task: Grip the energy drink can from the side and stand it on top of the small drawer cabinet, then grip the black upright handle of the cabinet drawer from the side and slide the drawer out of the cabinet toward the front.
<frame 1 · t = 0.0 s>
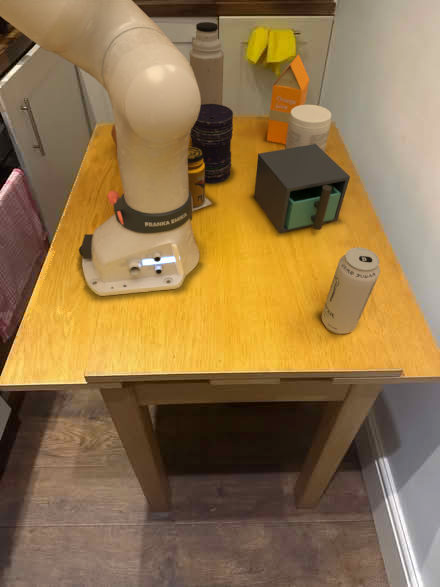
onion: (134, 152, 108), on the table
small drawer cabinet: (294, 208, 92), on the table
condiment: (188, 202, 93), on the table
storage jar: (210, 173, 102), on the table
cabinet drawer: (304, 190, 86), point 6 cm above the table, slide at 0.0 cm
orange juice: (283, 136, 116), on the table
energy drink can: (337, 323, 70), on the table
thermos bottle: (206, 143, 112), on the table
supplement tub: (300, 171, 103), on the table
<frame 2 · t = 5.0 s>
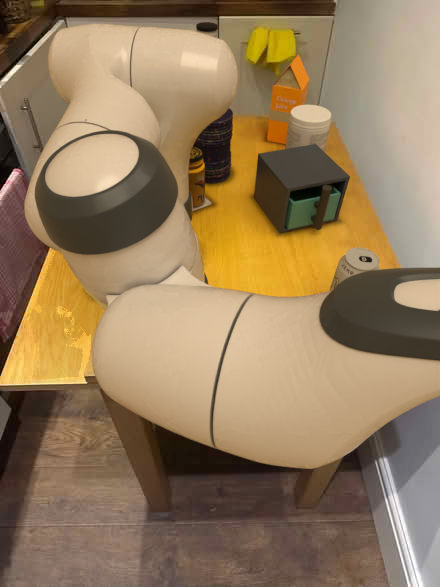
nothing on the table moved.
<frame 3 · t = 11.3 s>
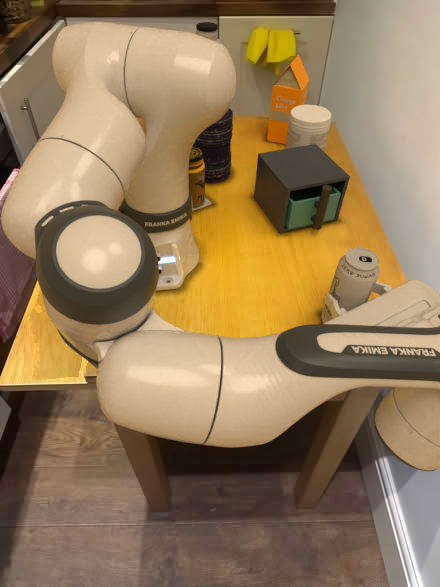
hand: (346, 287, 65), 8 cm above the table, tool horizontal, fingers closed on energy drink can, 6 cm apart
energy drink can: (337, 323, 70), on the table, touching gripper
everything else where it was.
when the fingers open (19 cm above the table, at t = 21.4 s): energy drink can stays where it is, resting on small drawer cabinet.
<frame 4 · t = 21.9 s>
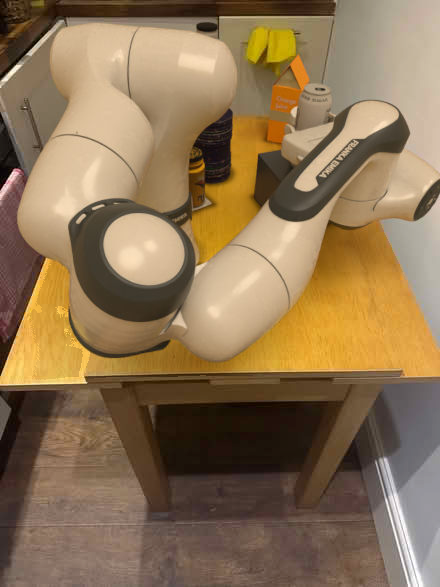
hand: (307, 122, 78), 19 cm above the table, tool horizontal, fingers open, 8 cm apart
energy drink can: (302, 165, 84), point 11 cm above the table, touching small drawer cabinet
everything else where it was.
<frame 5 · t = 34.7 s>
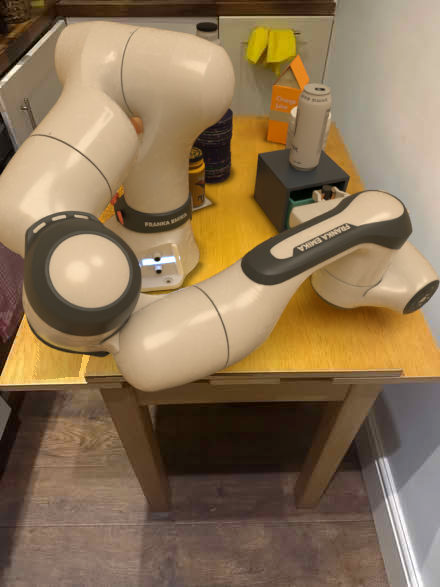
hand: (323, 191, 79), 10 cm above the table, tool horizontal, fingers closed on cabinet drawer, 2 cm apart
cabinet drawer: (304, 190, 86), point 6 cm above the table, slide at 0.0 cm, touching gripper
everything else where it was.
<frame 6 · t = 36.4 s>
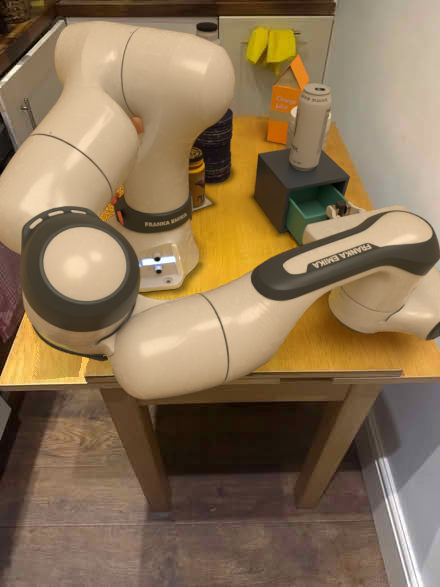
hand: (337, 206, 76), 10 cm above the table, tool horizontal, fingers closed on cabinet drawer, 2 cm apart
cabinet drawer: (316, 204, 83), point 6 cm above the table, slide at 5.2 cm, touching gripper
everything else where it was.
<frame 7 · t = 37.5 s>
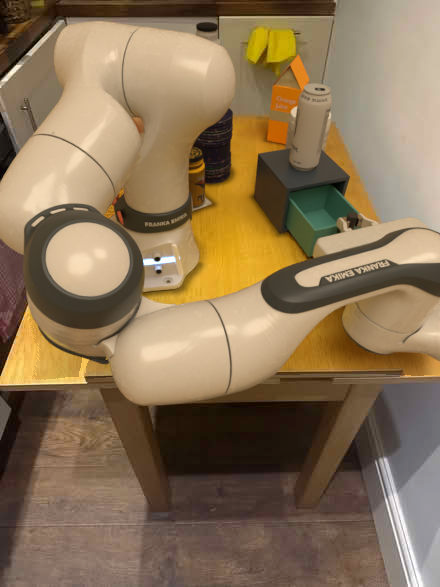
hand: (348, 218, 73), 10 cm above the table, tool horizontal, fingers closed on cabinet drawer, 2 cm apart
cabinet drawer: (326, 215, 80), point 6 cm above the table, slide at 9.0 cm, touching gripper
everything else where it was.
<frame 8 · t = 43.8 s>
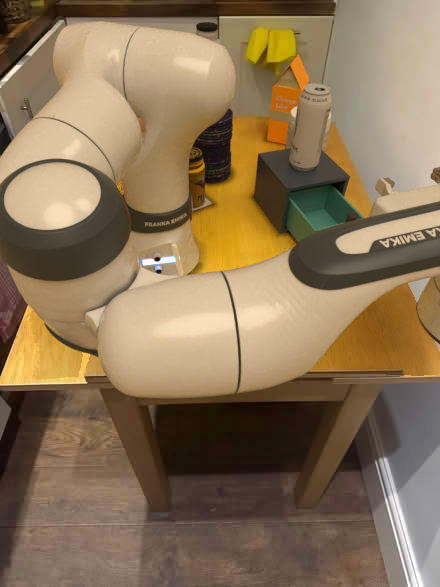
hand: (408, 176, 57), 24 cm above the table, tool horizontal, fingers open, 8 cm apart
cabinet drawer: (326, 215, 80), point 6 cm above the table, slide at 9.0 cm
everything else where it was.
at the end: cabinet drawer slide at 9.0 cm; energy drink can inside the target area on the small drawer cabinet (0.1 cm from its centre), point 10.8 cm above the small drawer cabinet's base; energy drink can tilted 0° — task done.
